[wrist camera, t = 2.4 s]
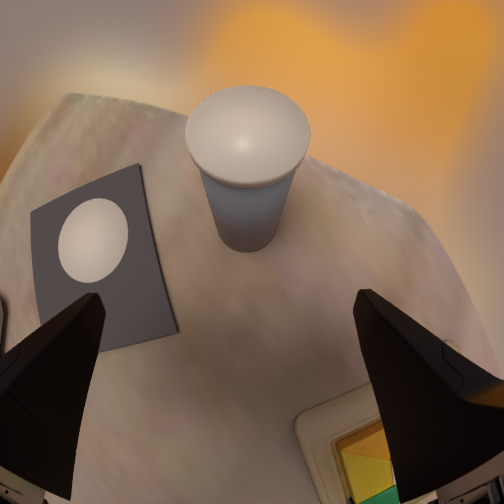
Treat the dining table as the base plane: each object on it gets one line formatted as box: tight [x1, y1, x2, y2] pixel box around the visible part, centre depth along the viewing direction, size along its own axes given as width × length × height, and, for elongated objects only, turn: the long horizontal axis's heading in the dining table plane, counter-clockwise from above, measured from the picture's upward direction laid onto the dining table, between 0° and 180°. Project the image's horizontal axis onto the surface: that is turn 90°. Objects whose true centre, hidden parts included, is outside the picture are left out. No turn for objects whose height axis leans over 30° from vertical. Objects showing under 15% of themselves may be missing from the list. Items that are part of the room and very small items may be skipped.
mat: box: [31, 163, 179, 352], centre depth 22 cm, size 16×14×1 cm
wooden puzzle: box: [294, 341, 461, 504], centre depth 18 cm, size 18×19×4 cm
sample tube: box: [185, 86, 310, 252], centre depth 17 cm, size 5×5×13 cm
